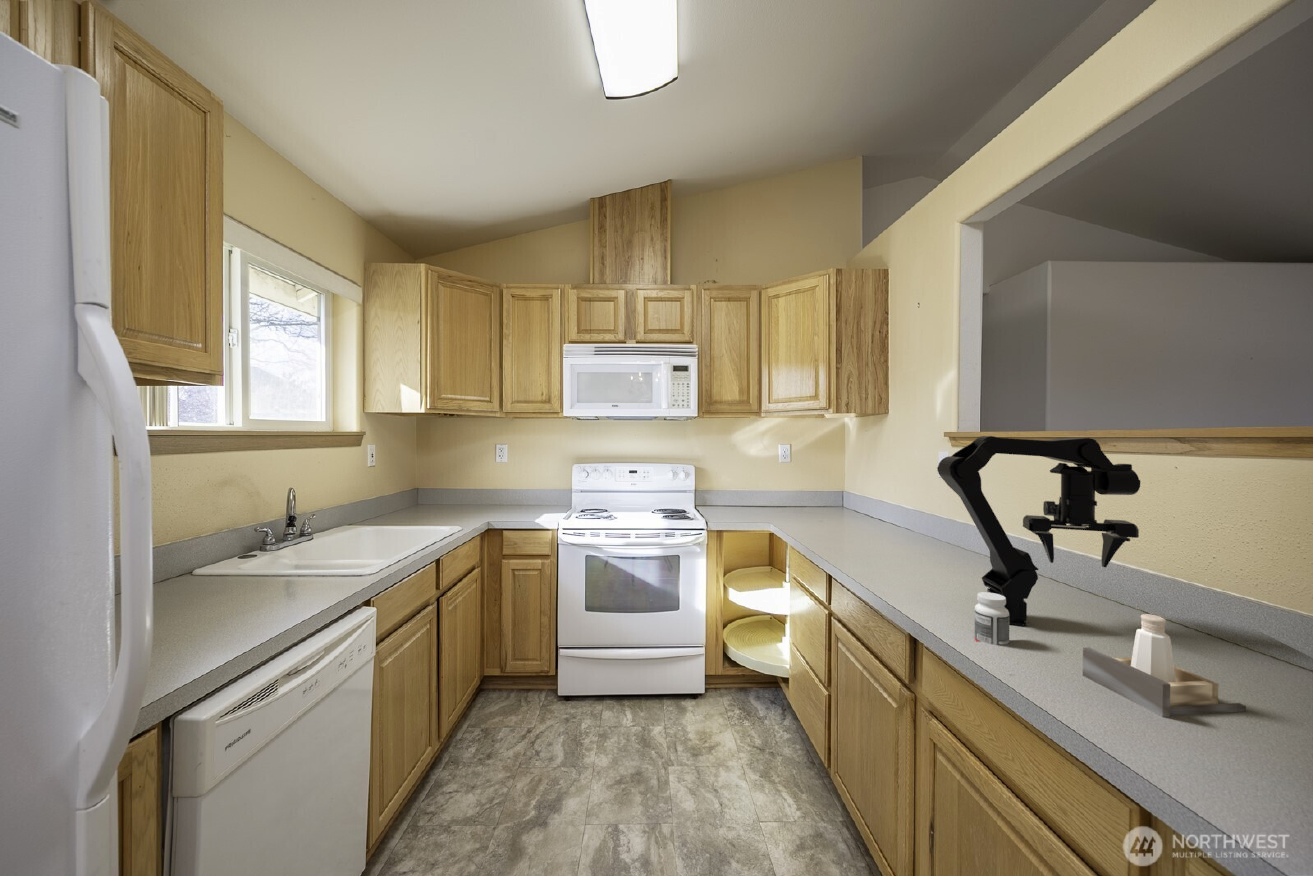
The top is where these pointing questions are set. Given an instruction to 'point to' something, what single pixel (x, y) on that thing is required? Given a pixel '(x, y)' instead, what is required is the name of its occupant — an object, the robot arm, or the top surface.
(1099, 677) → the open wooden tray
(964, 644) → the top surface
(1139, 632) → the pepper shaker
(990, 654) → the top surface
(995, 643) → the pill bottle
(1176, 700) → the light wooden tray
